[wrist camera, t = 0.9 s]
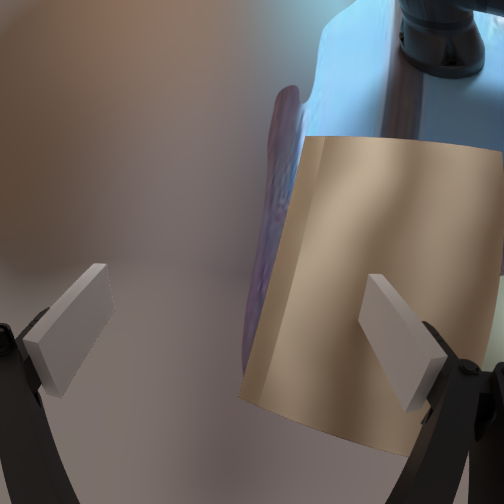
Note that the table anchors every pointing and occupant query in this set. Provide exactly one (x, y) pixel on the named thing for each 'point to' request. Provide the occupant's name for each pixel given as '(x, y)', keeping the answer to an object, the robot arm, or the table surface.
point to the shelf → (375, 262)
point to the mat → (496, 334)
